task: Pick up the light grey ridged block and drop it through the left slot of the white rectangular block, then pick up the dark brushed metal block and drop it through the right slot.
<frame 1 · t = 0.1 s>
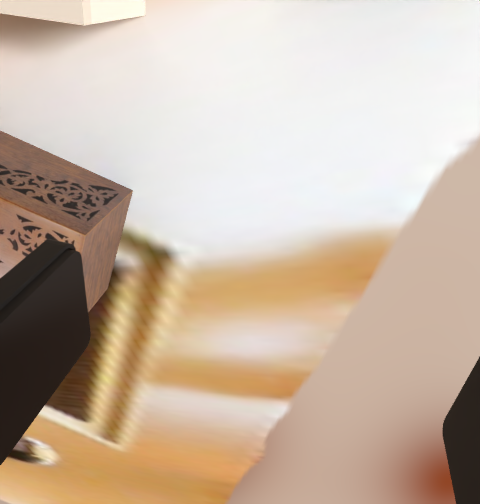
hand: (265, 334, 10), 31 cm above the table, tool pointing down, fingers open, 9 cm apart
tissue box cover: (17, 194, 50), on the table
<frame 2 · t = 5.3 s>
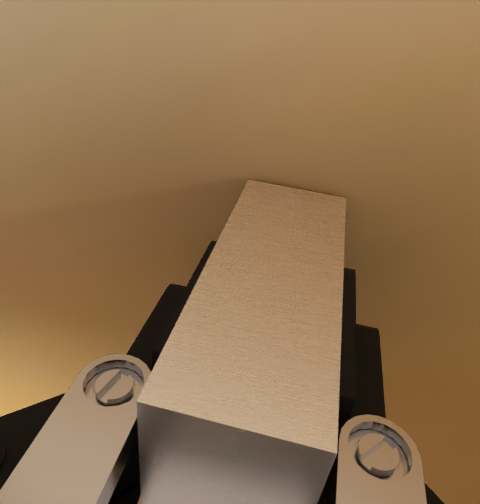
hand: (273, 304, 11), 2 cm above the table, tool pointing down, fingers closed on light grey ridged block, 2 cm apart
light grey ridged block: (281, 268, 12), on the table, touching gripper
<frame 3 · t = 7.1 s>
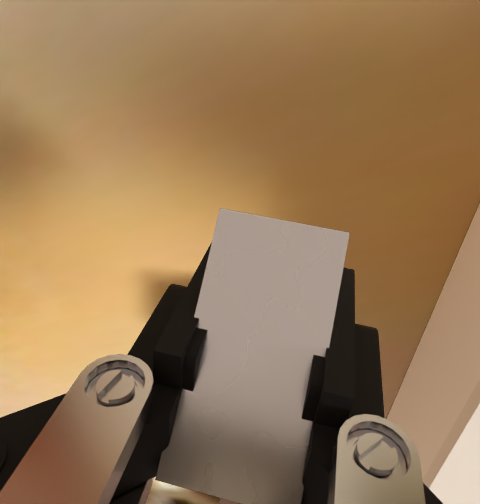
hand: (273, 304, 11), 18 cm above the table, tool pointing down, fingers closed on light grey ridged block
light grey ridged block: (266, 346, 15), point 16 cm above the table, tilted 43°, touching gripper
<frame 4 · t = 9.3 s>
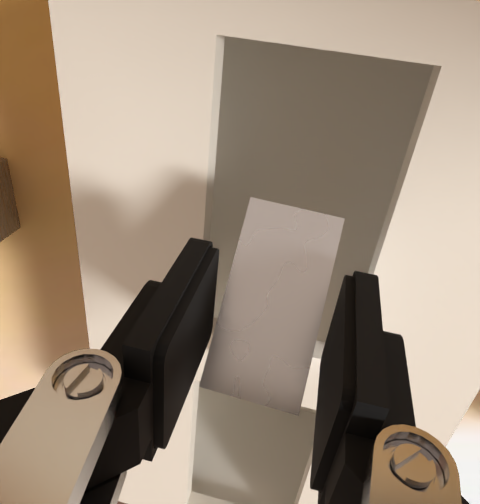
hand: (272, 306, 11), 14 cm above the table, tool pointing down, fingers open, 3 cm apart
white rectangular block: (291, 251, 27), on the table
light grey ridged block: (275, 314, 18), point 9 cm above the table, tilted 43°, touching white rectangular block
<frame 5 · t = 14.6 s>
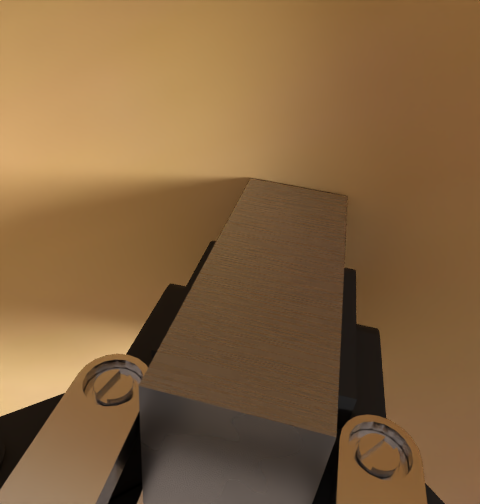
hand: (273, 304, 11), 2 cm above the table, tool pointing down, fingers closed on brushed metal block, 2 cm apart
brushed metal block: (283, 266, 13), on the table, touching gripper
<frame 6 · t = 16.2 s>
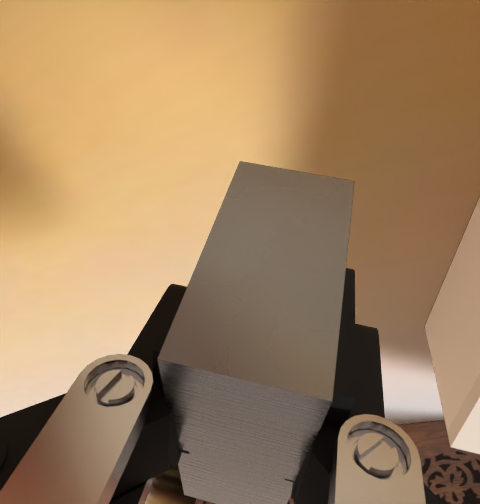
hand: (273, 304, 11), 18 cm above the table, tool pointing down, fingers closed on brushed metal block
tissue box cover: (359, 474, 43), on the table
brushed metal block: (252, 414, 13), point 18 cm above the table, tilted 76°, touching gripper
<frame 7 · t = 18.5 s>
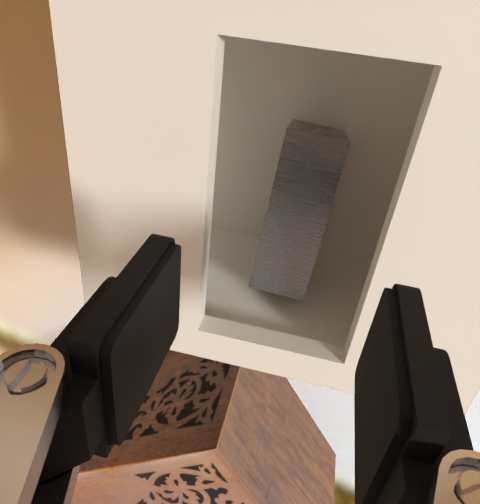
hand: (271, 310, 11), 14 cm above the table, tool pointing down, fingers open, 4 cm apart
tissue box cover: (167, 418, 39), on the table
brushed metal block: (280, 271, 22), point 5 cm above the table, tilted 101°
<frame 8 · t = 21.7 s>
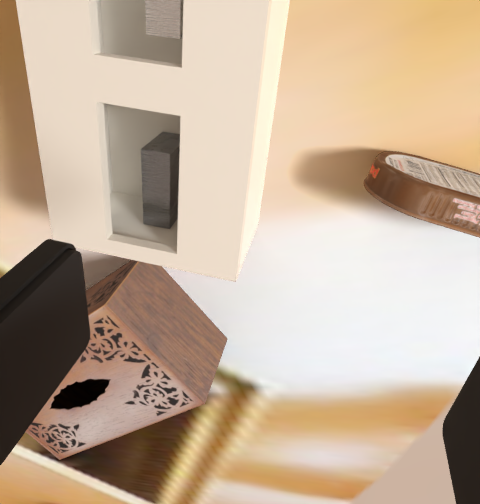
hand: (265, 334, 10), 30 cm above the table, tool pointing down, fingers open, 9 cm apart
white rectangular block: (185, 62, 37), on the table
tissue box cover: (119, 333, 57), on the table
tin: (453, 177, 37), on the table
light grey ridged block: (175, 33, 33), point 3 cm above the table, tilted 90°, touching white rectangular block
brushed metal block: (166, 214, 41), point 3 cm above the table, tilted 90°, touching white rectangular block
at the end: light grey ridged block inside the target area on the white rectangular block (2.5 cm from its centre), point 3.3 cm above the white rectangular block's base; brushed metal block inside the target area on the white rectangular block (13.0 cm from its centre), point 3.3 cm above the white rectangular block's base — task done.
